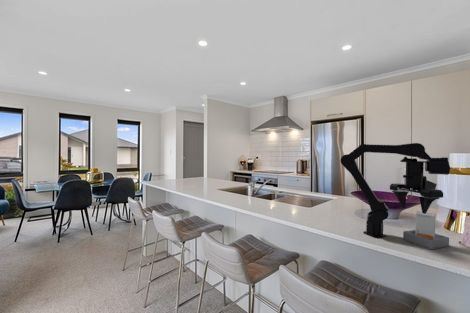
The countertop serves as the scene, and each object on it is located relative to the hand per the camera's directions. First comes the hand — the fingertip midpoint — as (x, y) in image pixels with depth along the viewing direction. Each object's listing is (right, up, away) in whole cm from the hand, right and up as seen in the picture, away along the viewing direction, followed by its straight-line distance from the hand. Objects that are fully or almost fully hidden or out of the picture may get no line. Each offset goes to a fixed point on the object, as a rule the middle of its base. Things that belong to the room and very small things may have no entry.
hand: (413, 210), depth 91 cm
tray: (+4, -13, -1) cm, 14 cm away
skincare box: (+4, -13, -1) cm, 14 cm away
